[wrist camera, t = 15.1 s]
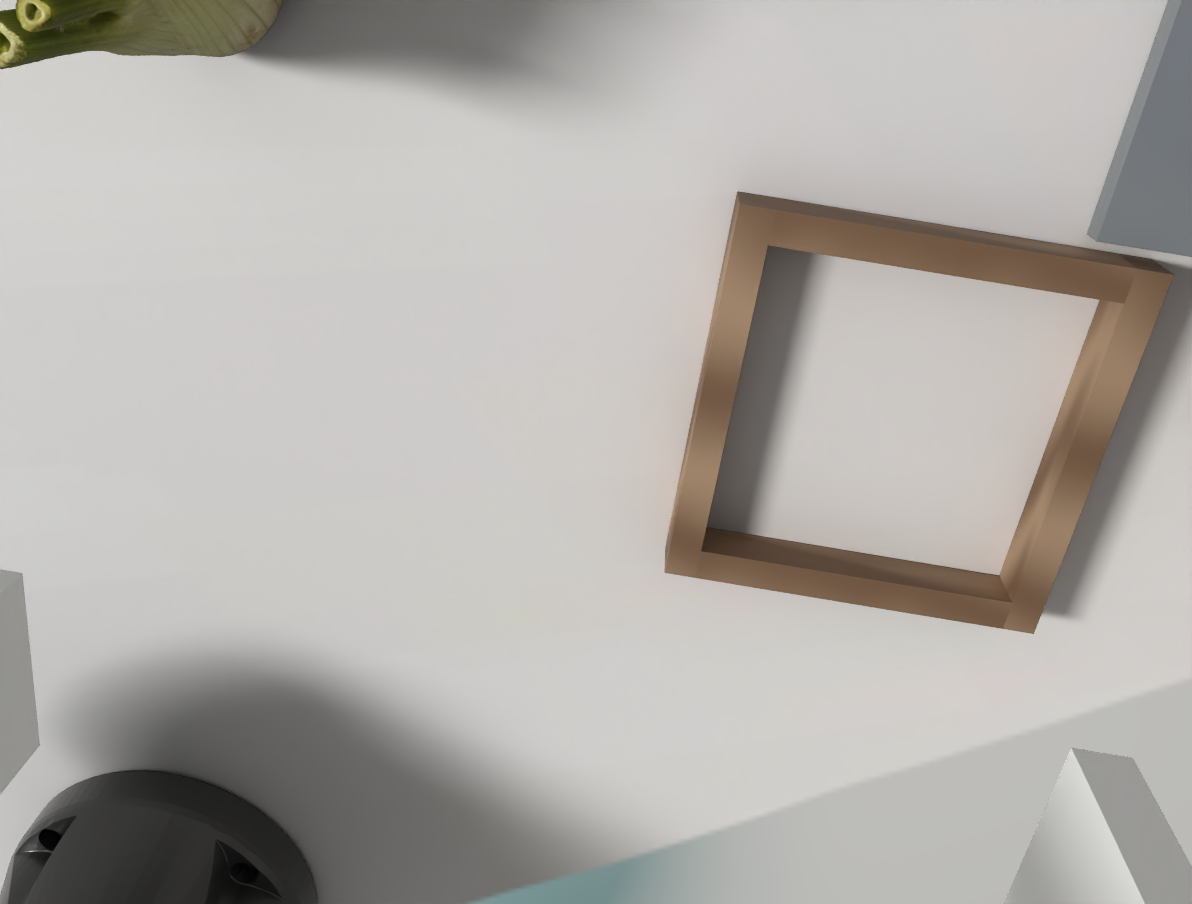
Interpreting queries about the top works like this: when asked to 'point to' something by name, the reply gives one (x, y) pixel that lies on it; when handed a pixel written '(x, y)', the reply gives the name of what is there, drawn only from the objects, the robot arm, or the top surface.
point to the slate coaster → (1155, 150)
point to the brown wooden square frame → (1067, 462)
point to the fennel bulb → (132, 27)
